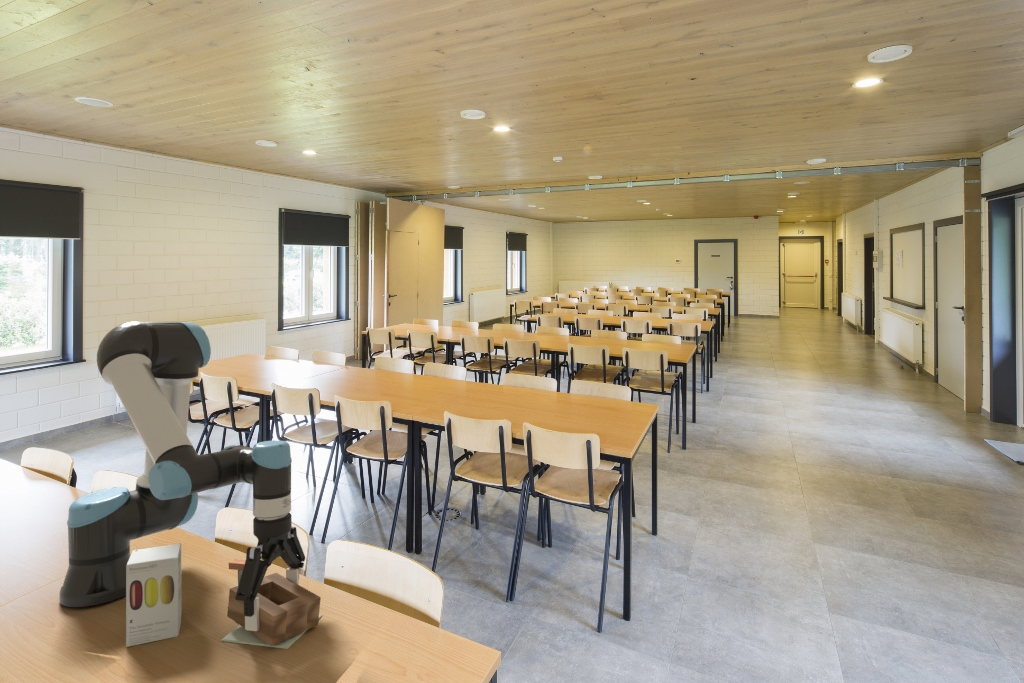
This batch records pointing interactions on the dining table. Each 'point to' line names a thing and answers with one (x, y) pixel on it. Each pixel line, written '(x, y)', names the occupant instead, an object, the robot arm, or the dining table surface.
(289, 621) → the brown hollow elongated block
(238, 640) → the mat
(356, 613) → the dining table surface
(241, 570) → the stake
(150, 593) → the supplement box
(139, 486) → the robot arm
